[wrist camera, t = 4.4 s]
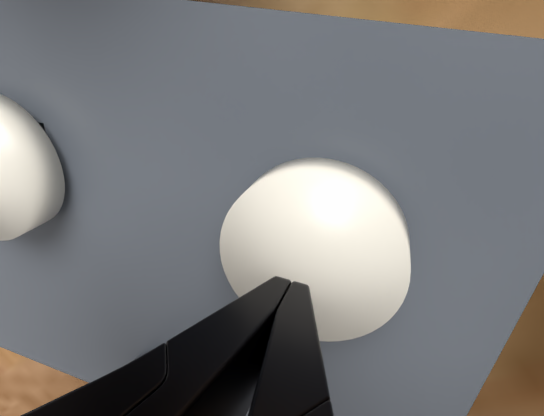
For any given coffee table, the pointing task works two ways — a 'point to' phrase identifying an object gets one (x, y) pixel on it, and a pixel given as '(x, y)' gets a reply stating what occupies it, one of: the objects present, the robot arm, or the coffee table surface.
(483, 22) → the coffee table surface
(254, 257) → the knob
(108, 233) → the console block
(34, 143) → the knob
